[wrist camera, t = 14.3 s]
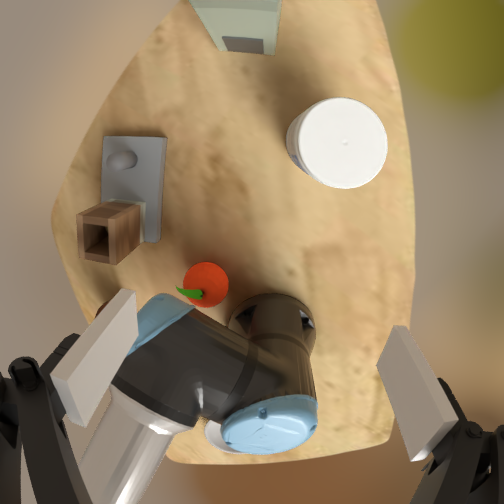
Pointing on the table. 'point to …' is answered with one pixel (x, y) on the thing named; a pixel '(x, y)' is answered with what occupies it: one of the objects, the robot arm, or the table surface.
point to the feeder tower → (241, 24)
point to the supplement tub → (338, 142)
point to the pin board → (135, 175)
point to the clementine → (205, 284)
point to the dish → (217, 438)
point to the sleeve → (111, 230)
